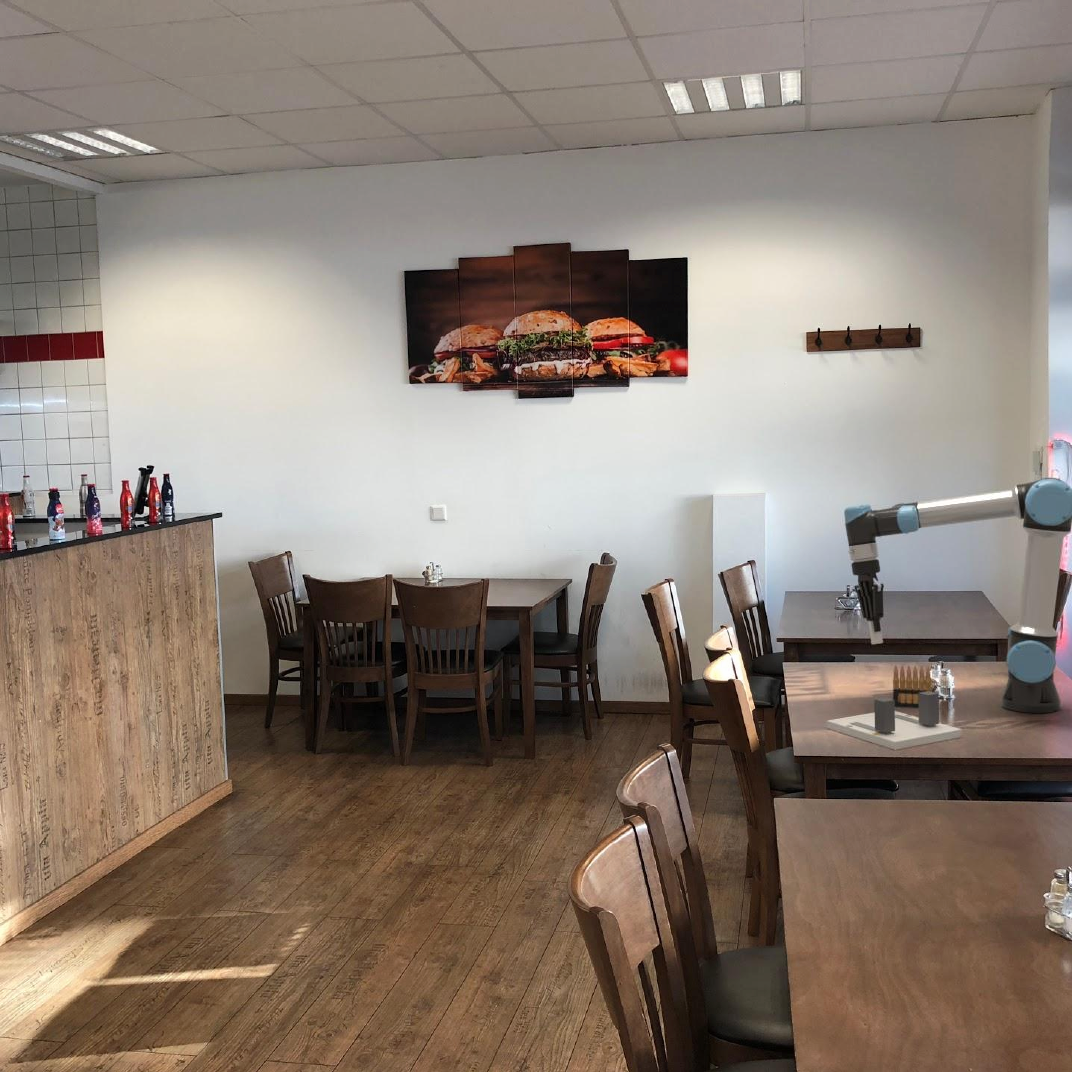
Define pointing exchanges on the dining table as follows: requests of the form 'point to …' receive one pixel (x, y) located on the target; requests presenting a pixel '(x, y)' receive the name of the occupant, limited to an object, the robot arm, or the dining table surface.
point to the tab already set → (884, 715)
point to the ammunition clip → (910, 686)
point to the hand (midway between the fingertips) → (877, 643)
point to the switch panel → (902, 737)
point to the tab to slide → (928, 708)
